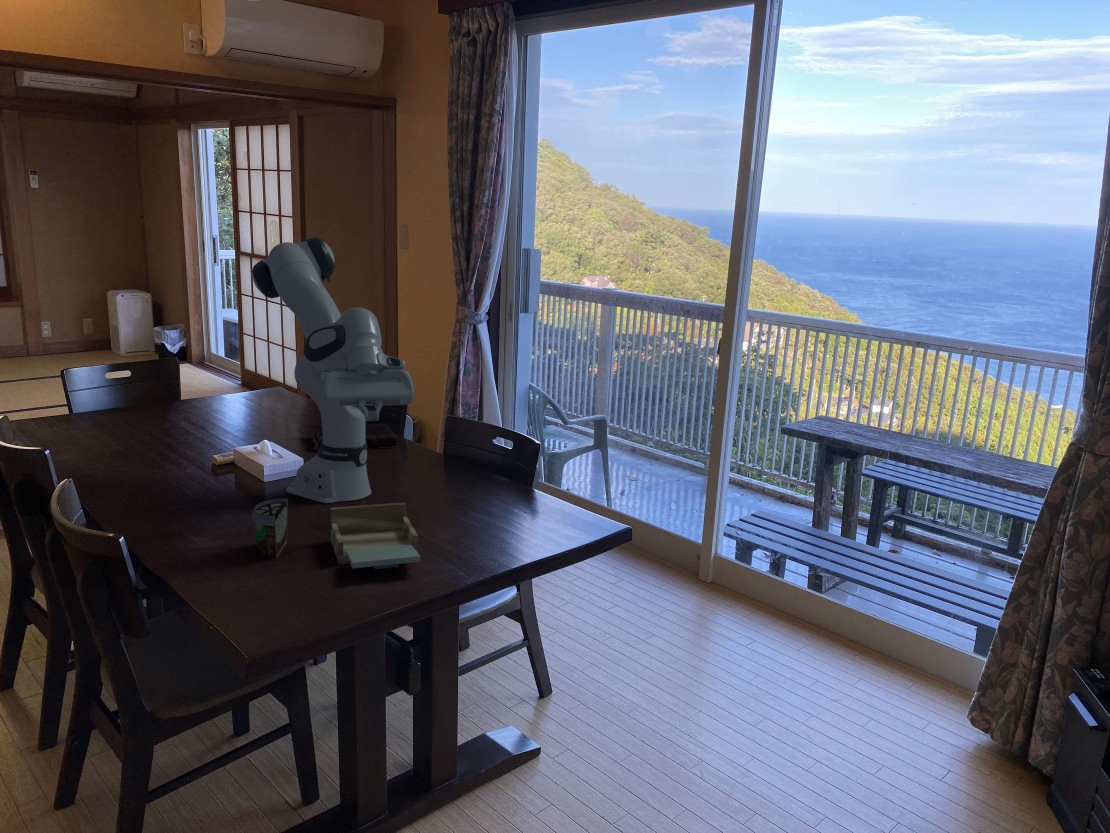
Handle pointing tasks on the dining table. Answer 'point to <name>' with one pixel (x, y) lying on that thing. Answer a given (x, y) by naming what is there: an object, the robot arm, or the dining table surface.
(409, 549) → the panel
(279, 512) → the food container
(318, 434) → the diary
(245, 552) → the dining table surface
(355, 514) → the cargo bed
